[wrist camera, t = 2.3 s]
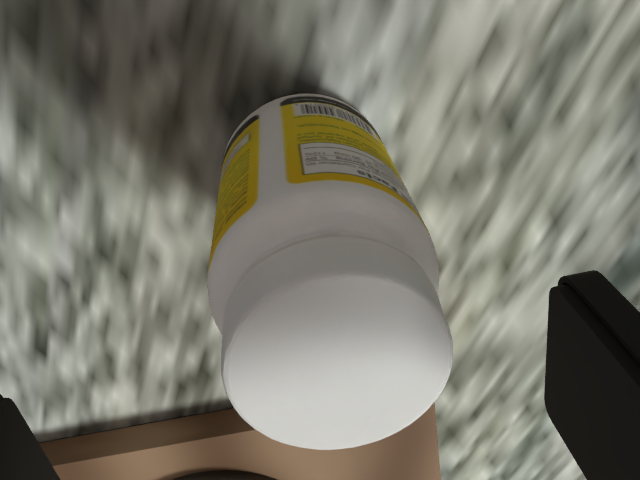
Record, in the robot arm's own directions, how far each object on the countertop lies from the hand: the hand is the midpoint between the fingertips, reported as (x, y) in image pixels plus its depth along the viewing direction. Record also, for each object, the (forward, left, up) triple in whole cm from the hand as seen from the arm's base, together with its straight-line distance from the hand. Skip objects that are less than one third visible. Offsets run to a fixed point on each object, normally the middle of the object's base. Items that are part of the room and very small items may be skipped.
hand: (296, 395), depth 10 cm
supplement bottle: (-1, -1, -9) cm, 8 cm away
